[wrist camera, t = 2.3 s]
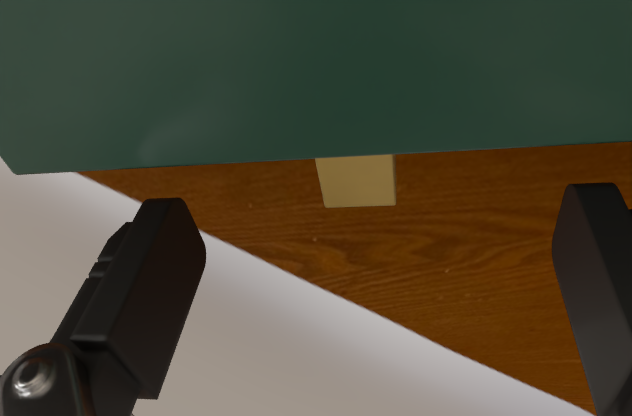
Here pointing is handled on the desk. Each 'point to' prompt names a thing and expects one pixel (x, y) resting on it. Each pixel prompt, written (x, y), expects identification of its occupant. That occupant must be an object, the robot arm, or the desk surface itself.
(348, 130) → the window frame
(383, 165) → the window
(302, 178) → the desk surface
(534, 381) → the desk surface
